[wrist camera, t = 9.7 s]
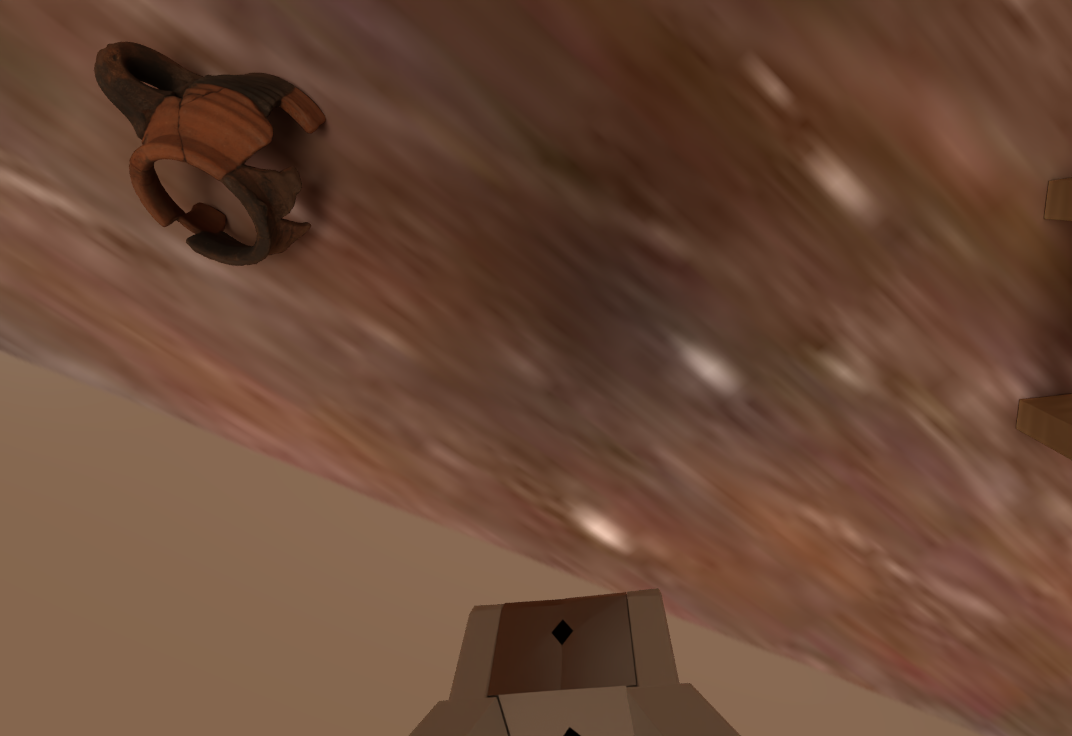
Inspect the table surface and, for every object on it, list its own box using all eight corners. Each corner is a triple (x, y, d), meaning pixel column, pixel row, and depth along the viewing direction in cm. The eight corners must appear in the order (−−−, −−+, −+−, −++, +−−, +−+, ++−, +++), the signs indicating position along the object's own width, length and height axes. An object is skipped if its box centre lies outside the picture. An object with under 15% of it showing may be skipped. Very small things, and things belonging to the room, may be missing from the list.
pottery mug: (378, 142, 31) (310, 220, 26) (316, 228, 37) (251, 305, 32) (176, -37, 26) (41, 16, 21) (143, 96, 32) (32, 163, 27)
